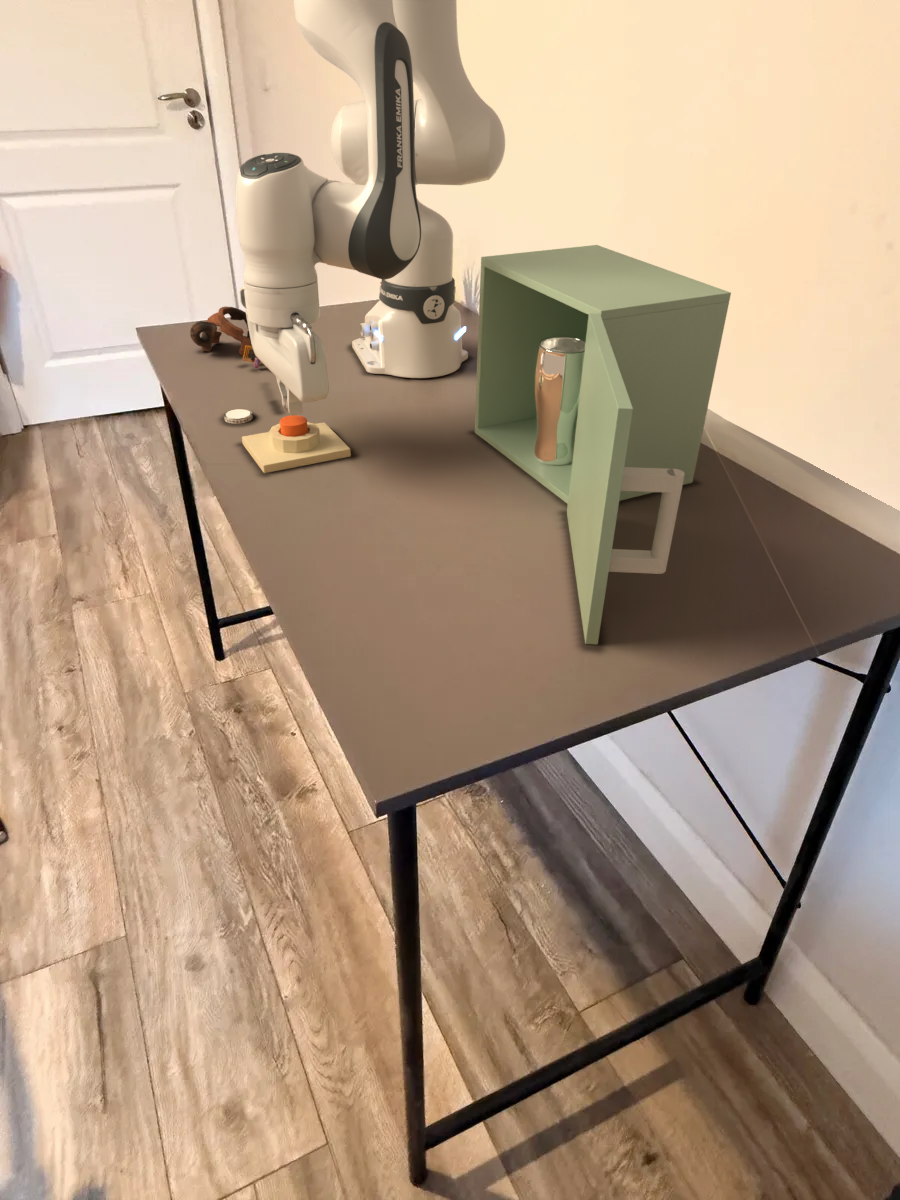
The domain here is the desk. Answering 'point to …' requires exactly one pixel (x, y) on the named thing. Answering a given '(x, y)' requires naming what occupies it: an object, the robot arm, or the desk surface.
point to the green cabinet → (637, 336)
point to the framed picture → (252, 358)
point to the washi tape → (238, 416)
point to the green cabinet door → (609, 483)
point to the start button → (293, 426)
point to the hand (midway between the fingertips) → (292, 411)
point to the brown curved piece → (221, 329)
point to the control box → (295, 447)
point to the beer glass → (557, 398)
